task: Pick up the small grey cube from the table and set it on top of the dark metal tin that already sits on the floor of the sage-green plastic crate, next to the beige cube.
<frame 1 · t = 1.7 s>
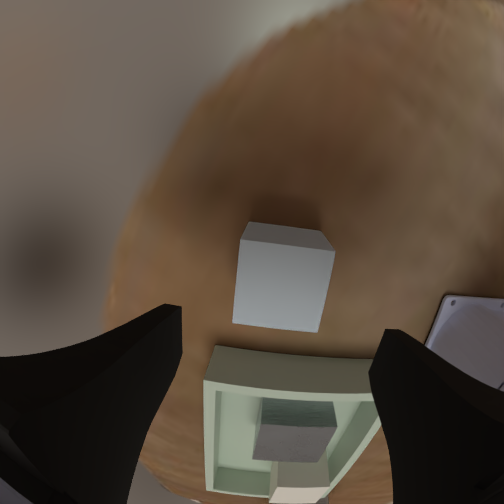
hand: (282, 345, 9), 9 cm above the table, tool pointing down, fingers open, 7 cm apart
grey cube: (280, 260, 18), on the table
small box: (299, 495, 28), on the table
beige cube: (297, 459, 23), point 1 cm above the table, touching crate
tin: (291, 410, 21), point 1 cm above the table, touching crate
crate: (282, 430, 23), on the table
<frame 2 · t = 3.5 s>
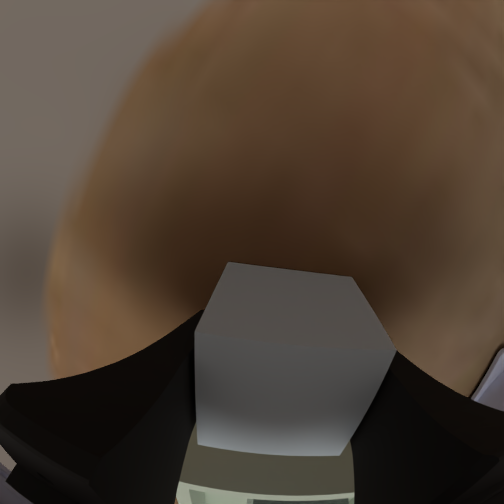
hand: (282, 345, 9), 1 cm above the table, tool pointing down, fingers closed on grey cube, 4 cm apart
grey cube: (282, 324, 10), on the table, touching gripper
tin: (292, 483, 14), point 1 cm above the table, touching crate
crate: (281, 495, 15), on the table
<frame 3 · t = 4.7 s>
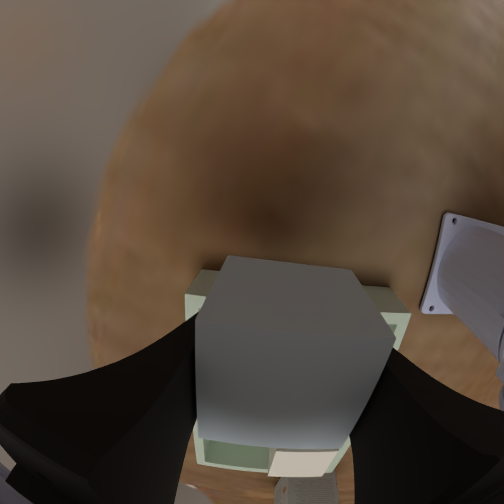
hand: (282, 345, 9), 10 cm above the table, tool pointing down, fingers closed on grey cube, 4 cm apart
grey cube: (282, 317, 11), point 8 cm above the table, touching gripper
small box: (303, 476, 27), on the table
beige cube: (299, 424, 23), point 1 cm above the table, touching crate
crate: (281, 384, 22), on the table
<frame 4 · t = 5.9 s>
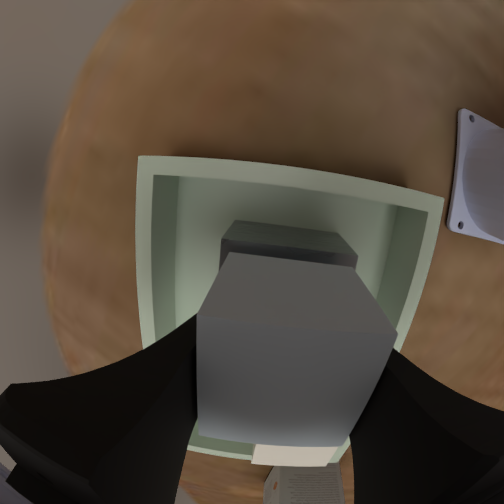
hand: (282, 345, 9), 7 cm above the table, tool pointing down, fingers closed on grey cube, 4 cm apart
grey cube: (283, 314, 11), point 6 cm above the table, touching gripper
small box: (299, 469, 23), on the table
beige cube: (295, 393, 18), point 1 cm above the table, touching crate
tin: (280, 274, 15), point 1 cm above the table, touching crate
crate: (270, 329, 17), on the table
when the fingers open (7 cm above the table, at t = 6.4 s): grey cube stays where it is, resting on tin.
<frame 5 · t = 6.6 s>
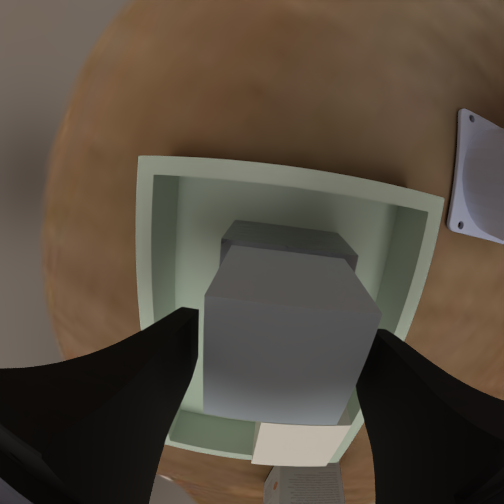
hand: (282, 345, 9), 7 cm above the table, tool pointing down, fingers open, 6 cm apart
grey cube: (281, 303, 12), point 5 cm above the table, touching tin
small box: (299, 469, 23), on the table
beige cube: (295, 393, 18), point 1 cm above the table, touching crate
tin: (280, 274, 15), point 1 cm above the table, touching grey cube, crate
crate: (270, 329, 17), on the table
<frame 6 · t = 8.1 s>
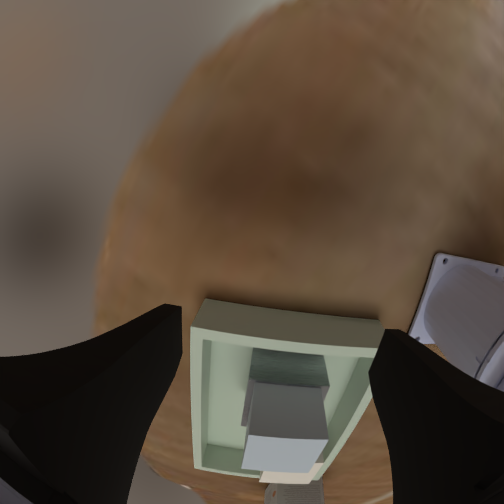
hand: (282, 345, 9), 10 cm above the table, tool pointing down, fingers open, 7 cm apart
grey cube: (282, 406, 18), point 5 cm above the table, touching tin
small box: (292, 481, 29), on the table
beige cube: (289, 435, 24), point 1 cm above the table, touching crate
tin: (282, 374, 21), point 1 cm above the table, touching grey cube, crate
crate: (274, 400, 23), on the table
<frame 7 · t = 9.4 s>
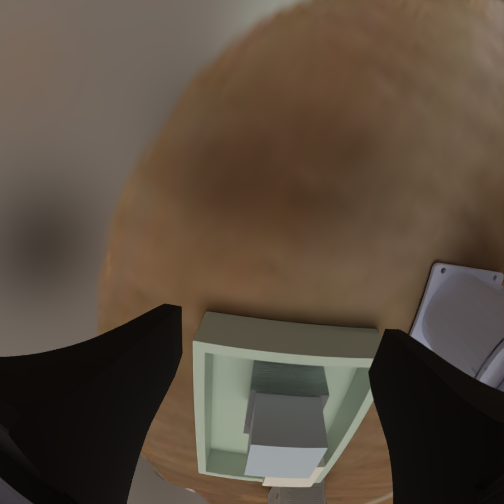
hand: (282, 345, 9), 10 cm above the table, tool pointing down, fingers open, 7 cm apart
grey cube: (283, 415, 18), point 5 cm above the table, touching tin
small box: (295, 483, 29), on the table
beige cube: (291, 440, 24), point 1 cm above the table, touching crate
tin: (283, 382, 22), point 1 cm above the table, touching grey cube, crate
crate: (275, 406, 23), on the table
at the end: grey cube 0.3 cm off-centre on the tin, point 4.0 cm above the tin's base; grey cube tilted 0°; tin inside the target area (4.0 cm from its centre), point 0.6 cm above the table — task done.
